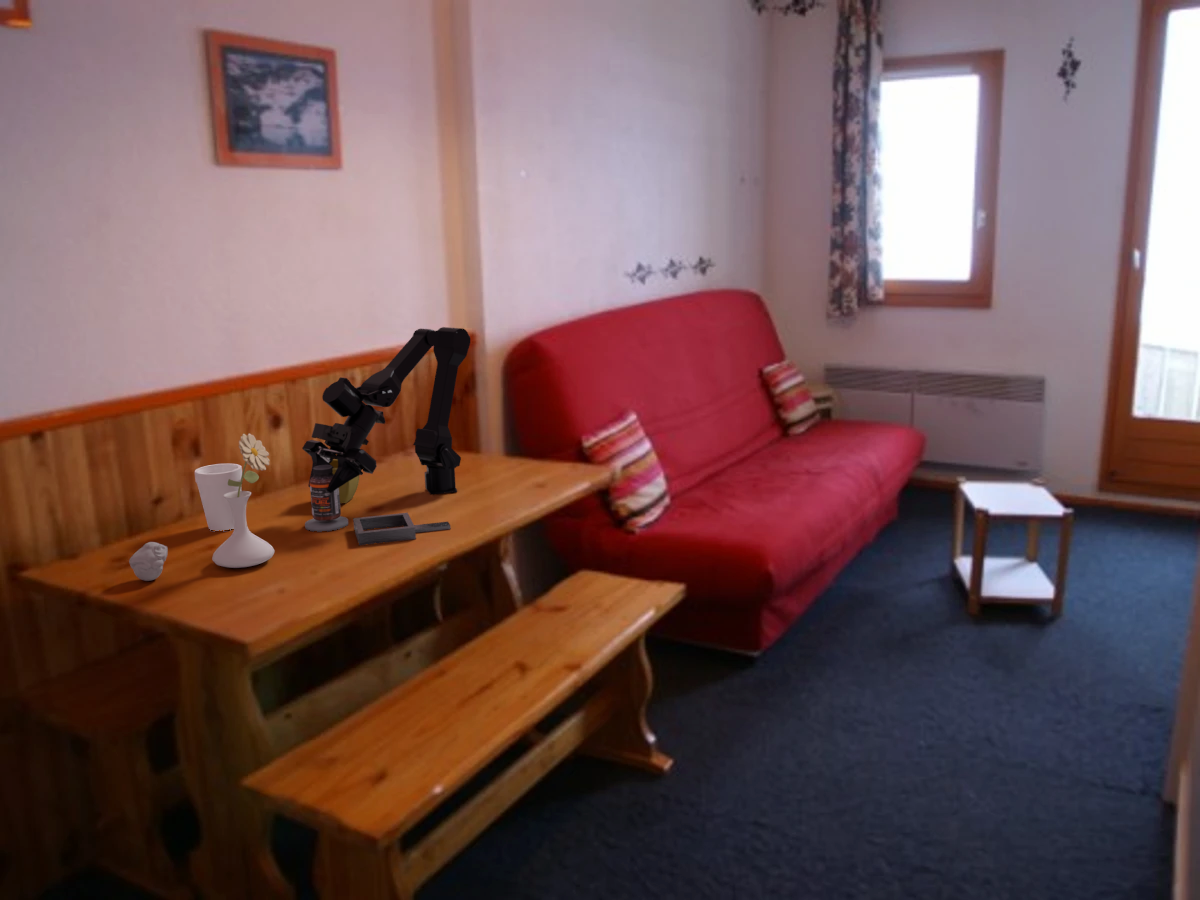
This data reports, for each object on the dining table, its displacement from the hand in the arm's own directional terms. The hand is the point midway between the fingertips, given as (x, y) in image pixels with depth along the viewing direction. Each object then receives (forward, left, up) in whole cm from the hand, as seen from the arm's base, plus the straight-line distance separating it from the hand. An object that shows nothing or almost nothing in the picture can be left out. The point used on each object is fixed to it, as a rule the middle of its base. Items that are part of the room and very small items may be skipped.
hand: (319, 489), depth 220 cm
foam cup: (+20, -8, -8) cm, 23 cm away
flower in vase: (+15, +18, -8) cm, 25 cm away
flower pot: (-5, -20, -9) cm, 22 cm away
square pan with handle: (-16, +10, -8) cm, 21 cm away
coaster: (-1, -1, -8) cm, 8 cm away
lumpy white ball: (+32, +22, -8) cm, 40 cm away
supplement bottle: (-1, -1, -7) cm, 7 cm away
